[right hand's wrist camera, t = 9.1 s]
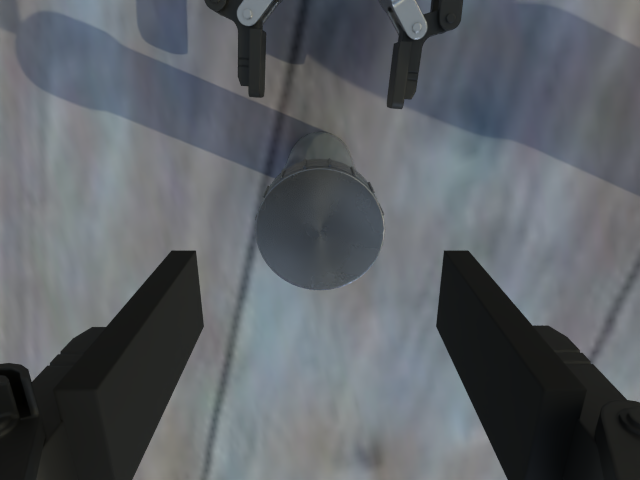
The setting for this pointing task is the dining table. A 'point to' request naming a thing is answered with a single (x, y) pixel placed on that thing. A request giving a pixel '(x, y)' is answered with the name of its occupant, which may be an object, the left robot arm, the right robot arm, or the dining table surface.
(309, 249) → the lid
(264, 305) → the dining table surface
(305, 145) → the jar
